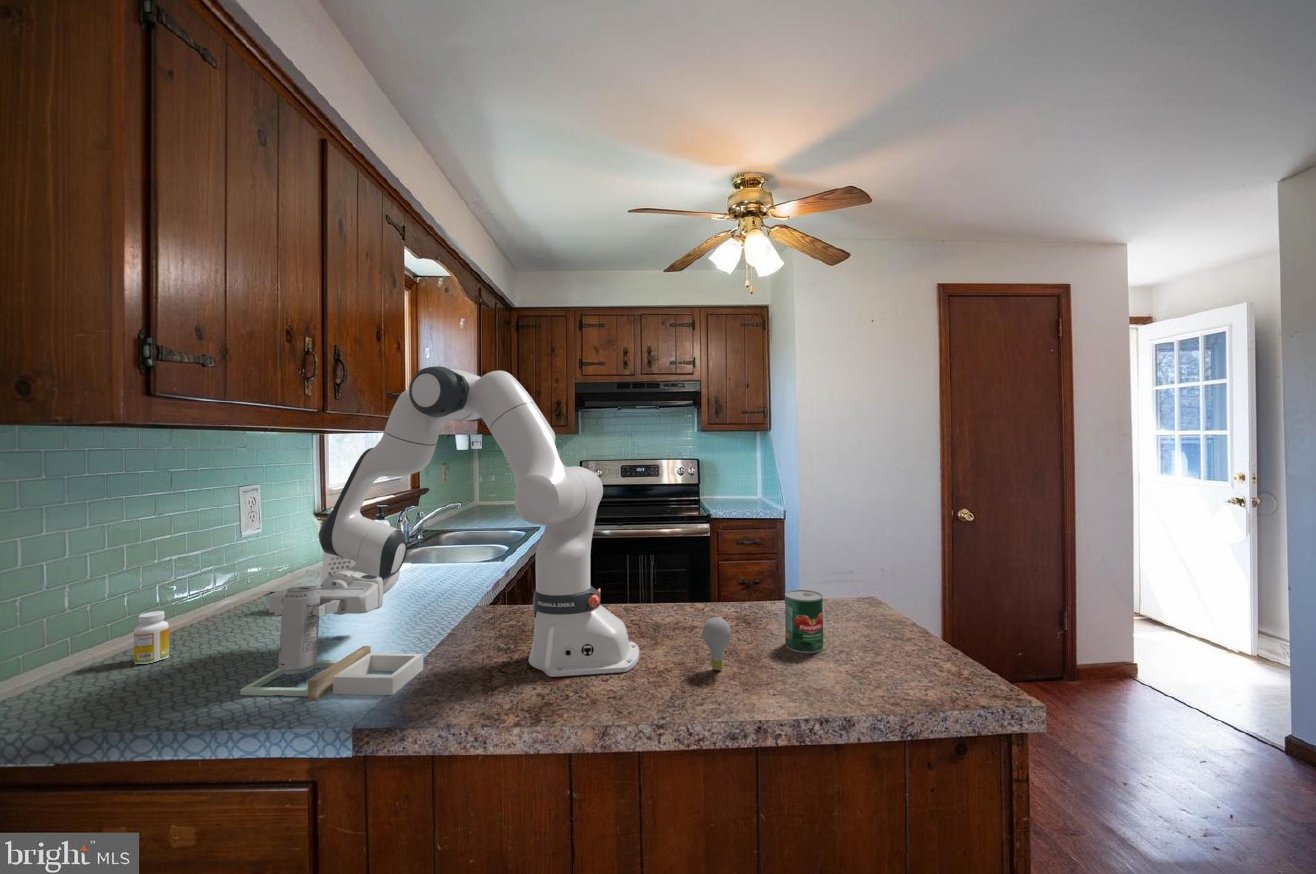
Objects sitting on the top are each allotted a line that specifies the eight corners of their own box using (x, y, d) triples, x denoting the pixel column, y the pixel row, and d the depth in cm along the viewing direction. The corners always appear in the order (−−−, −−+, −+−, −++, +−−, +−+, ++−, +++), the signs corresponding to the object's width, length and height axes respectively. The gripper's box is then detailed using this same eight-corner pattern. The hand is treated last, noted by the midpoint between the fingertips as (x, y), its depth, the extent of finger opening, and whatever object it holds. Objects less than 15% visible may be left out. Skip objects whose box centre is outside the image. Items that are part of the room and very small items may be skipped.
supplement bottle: (163, 653, 118) (163, 608, 118) (173, 658, 116) (173, 612, 116) (129, 662, 114) (129, 615, 114) (139, 667, 111) (139, 619, 111)
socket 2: (423, 669, 108) (423, 654, 108) (392, 695, 97) (392, 678, 97) (369, 668, 109) (369, 653, 109) (332, 694, 98) (332, 677, 98)
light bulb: (736, 668, 107) (735, 616, 107) (724, 678, 102) (723, 624, 102) (710, 662, 110) (709, 612, 110) (698, 672, 105) (697, 620, 105)
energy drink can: (290, 665, 106) (295, 585, 108) (322, 664, 106) (327, 585, 108) (270, 675, 100) (275, 591, 102) (304, 675, 100) (309, 590, 102)
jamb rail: (370, 663, 112) (370, 646, 112) (316, 700, 96) (316, 680, 96) (363, 663, 112) (363, 646, 112) (308, 700, 96) (308, 680, 96)
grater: (362, 606, 152) (361, 533, 152) (317, 612, 146) (316, 537, 147) (360, 597, 161) (360, 528, 161) (318, 602, 156) (317, 531, 156)
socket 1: (355, 666, 110) (355, 661, 110) (310, 696, 97) (310, 690, 97) (293, 665, 111) (293, 660, 111) (240, 695, 98) (240, 689, 98)
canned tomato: (808, 656, 112) (807, 602, 112) (777, 645, 118) (776, 594, 118) (831, 647, 117) (830, 595, 117) (800, 637, 123) (799, 587, 123)
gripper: (297, 576, 118) (244, 594, 104) (389, 577, 117) (348, 595, 103) (297, 606, 118) (244, 628, 104) (389, 607, 117) (348, 629, 103)
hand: (296, 612), depth 103 cm, fingers closed on energy drink can, 6 cm apart
